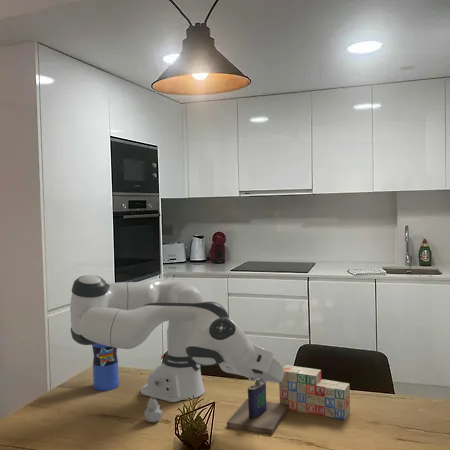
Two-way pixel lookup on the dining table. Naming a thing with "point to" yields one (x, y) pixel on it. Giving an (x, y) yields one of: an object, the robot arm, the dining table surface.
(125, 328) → the robot arm
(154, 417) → the rubber duck
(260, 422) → the walnut board
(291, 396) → the stack of blocks
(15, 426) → the dining table surface
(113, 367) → the water bottle
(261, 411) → the flask
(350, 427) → the dining table surface
